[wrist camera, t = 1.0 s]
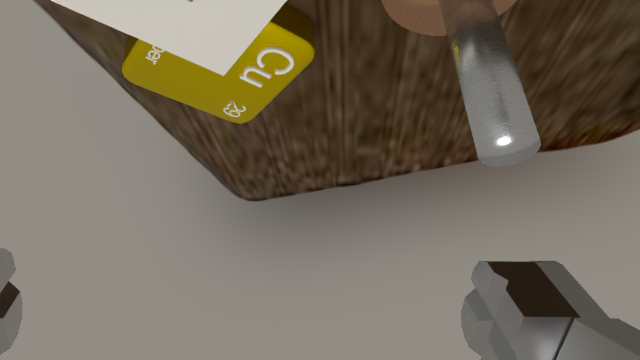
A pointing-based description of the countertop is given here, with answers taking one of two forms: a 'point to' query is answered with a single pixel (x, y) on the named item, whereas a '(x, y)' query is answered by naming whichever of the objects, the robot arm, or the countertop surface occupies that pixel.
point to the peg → (479, 72)
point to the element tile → (240, 80)
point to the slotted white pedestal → (186, 25)
